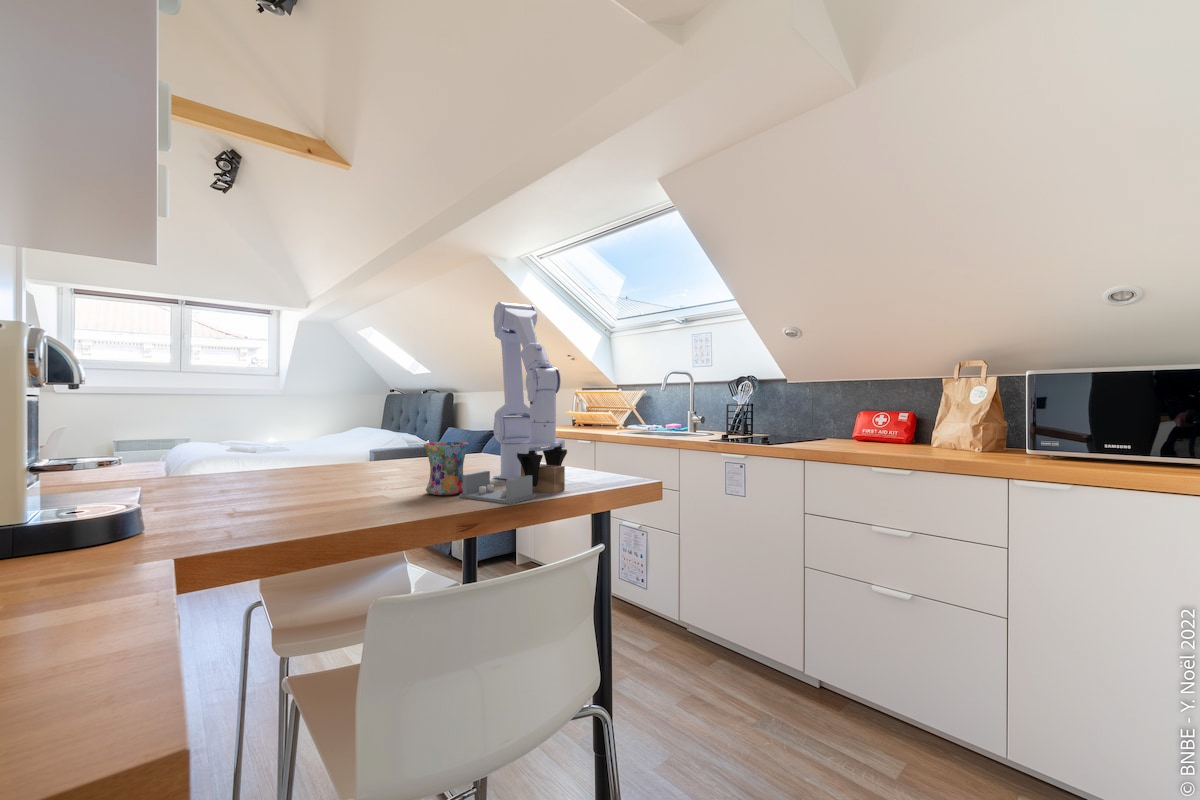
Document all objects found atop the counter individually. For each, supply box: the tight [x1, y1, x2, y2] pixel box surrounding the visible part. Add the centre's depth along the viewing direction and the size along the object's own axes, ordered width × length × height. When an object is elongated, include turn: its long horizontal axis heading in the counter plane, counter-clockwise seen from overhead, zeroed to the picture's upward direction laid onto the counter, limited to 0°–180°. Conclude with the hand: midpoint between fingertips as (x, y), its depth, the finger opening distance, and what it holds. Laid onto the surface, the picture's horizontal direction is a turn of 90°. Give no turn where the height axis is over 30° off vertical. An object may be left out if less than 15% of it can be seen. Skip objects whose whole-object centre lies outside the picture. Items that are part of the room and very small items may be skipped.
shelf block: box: [521, 463, 566, 494], centre depth 114 cm, size 4×9×6 cm, turn 60°
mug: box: [423, 441, 470, 496], centre depth 111 cm, size 12×9×11 cm
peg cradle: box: [458, 470, 537, 505], centre depth 106 cm, size 8×14×4 cm, turn 60°
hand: (542, 483), depth 114 cm, fingers open, 7 cm apart
